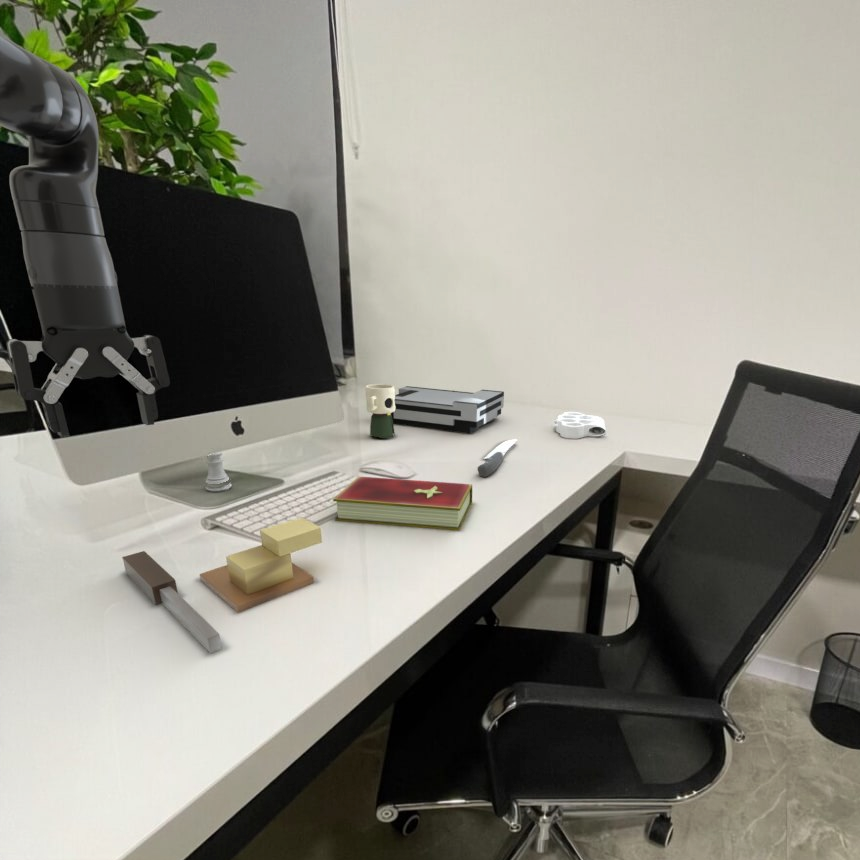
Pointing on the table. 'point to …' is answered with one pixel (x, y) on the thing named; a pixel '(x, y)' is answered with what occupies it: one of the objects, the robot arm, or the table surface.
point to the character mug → (381, 409)
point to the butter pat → (290, 536)
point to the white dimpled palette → (579, 425)
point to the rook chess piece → (216, 473)
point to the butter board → (256, 598)
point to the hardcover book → (405, 503)
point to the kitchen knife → (494, 458)
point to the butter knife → (169, 597)
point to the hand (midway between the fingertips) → (107, 429)
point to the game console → (446, 408)
